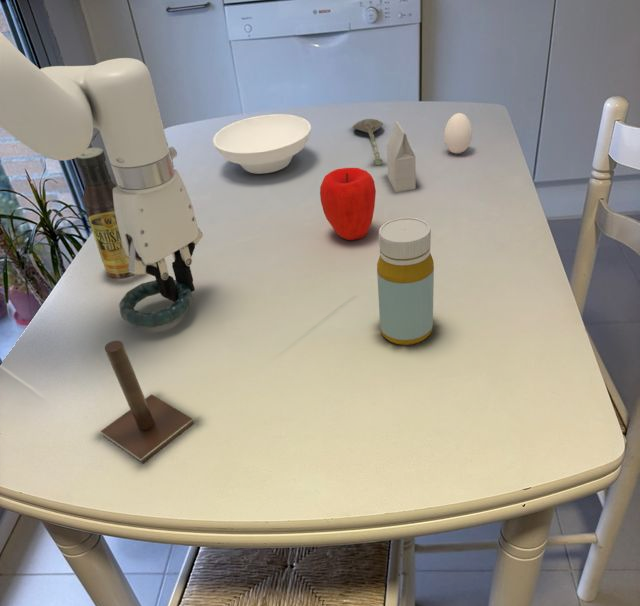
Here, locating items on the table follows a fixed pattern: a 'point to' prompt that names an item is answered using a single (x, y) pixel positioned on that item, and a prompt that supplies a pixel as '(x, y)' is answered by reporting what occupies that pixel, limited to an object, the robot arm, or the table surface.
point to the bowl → (263, 141)
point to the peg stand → (141, 412)
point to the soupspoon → (371, 134)
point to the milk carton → (400, 161)
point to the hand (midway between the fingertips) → (178, 293)
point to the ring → (158, 316)
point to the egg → (458, 133)
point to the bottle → (405, 280)
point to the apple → (348, 201)
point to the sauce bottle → (103, 212)
